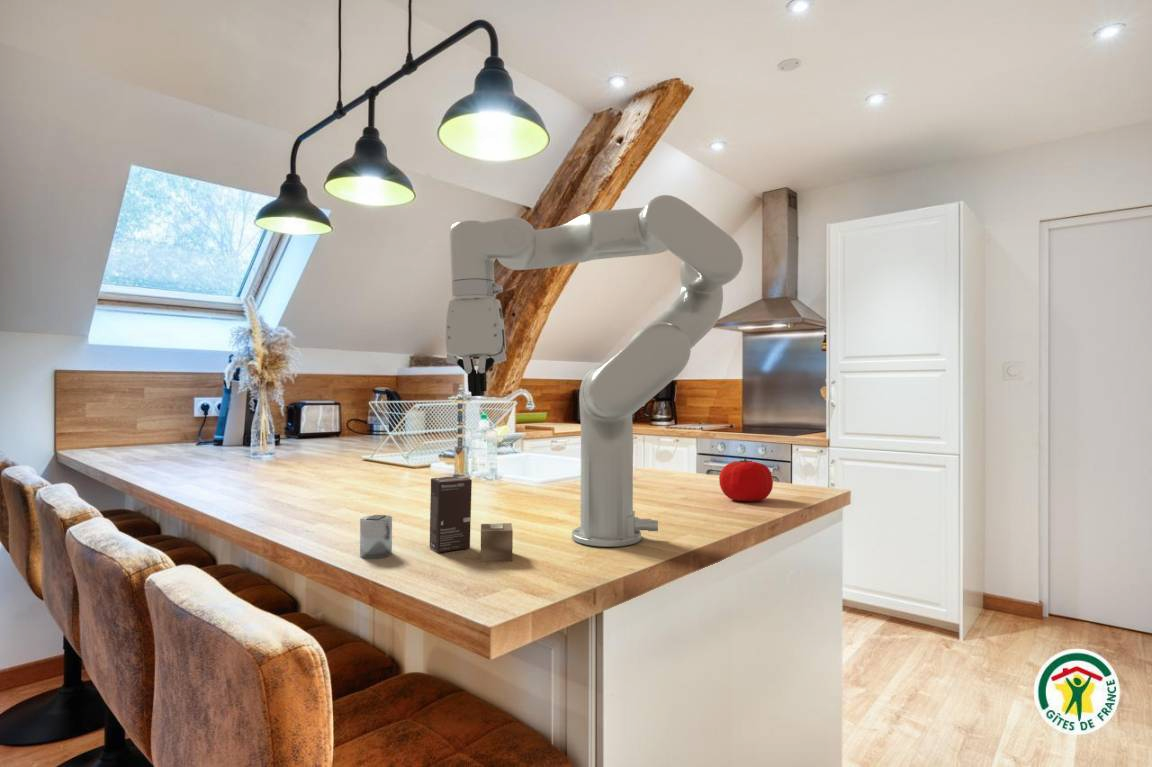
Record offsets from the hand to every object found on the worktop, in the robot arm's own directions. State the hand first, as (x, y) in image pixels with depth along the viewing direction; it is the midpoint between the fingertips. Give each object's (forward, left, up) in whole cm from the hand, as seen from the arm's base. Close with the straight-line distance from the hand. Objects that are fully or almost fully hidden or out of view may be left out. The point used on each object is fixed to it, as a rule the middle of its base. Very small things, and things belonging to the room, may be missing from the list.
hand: (477, 395), depth 109 cm
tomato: (-54, -46, -26) cm, 75 cm away
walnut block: (-6, +9, -26) cm, 28 cm away
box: (+3, +5, -26) cm, 27 cm away
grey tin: (+14, +10, -26) cm, 31 cm away
